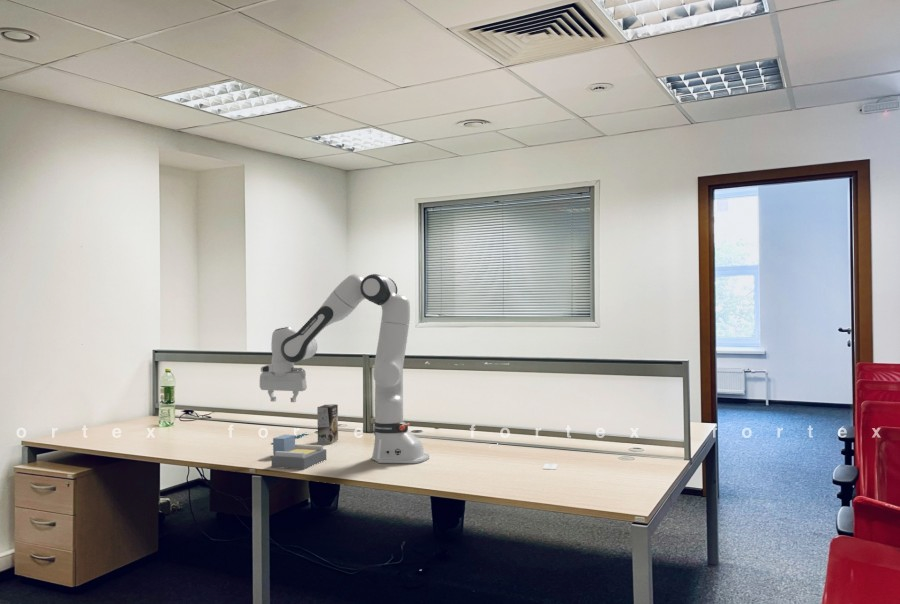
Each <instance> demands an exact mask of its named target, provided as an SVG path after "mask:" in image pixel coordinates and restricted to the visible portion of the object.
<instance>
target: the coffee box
mask: <svg viewBox="0 0 900 604" xmlns="http://www.w3.org/2000/svg"><path fill="white" fill-rule="evenodd" d="M338 406H339V405H338V404H324V405H321V406H317V409H316V411H317V430H318V431H317V445H331V444H332V445H333V443H336V442H337V440H338V441H339V421H338V420H339V417H338V416H339V415H338V414H339V413H338V412H339V411H338V410H339V409H338ZM335 441H336V442H335Z"/></svg>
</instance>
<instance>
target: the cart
mask: <svg viewBox="0 0 900 604" xmlns="http://www.w3.org/2000/svg"><path fill="white" fill-rule="evenodd" d="M295 436H296V435H295V434H282V435H279V436H275V437H273V438H272V443H273V444H272V445H273V446H272V450H273V451H272V452H273V456H274V455H275V452H276V451H283V452H285V451H288V450H290V449H293V448H295V446H294V445H295V444H296V438H295Z"/></svg>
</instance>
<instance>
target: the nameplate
mask: <svg viewBox="0 0 900 604" xmlns="http://www.w3.org/2000/svg"><path fill="white" fill-rule="evenodd" d="M304 435H305V436H308V434H305V433H301V434H297V435H295V439H296V438H297V439H301V438H303V437H305V436H304ZM296 436H297V437H296ZM302 436H303V437H302ZM270 445H273V442H271V443H270Z"/></svg>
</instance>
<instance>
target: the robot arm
mask: <svg viewBox="0 0 900 604" xmlns="http://www.w3.org/2000/svg"><path fill="white" fill-rule="evenodd" d="M363 300H367V301H369V302H371V303H373V304H375V305H377V306H380V307H381V311H382V312H381V320H380V328H379V334H378V341H377V347H376V353H375V359H374V366H373V372H372V373H373V374H372V375H373V376H372V377H373V379H374V381H375V382H374V423H373V434H374V443H373V444H374V445H373V451H372V455H371V459H372V460H373V461H375V462H376V463H378V464H419V463H423V462H425V461H427V460H428V459H430V454H429V453H427V452H425V450H424V445H423V442H422V441H421V440H420V439H419V438H418V437H416V436H415V435H414V434H413V433H412V432H411V431H409V428H408V427H409V426H410V422H408V423H407V422H405V420H404V375H403V374H404V371H403V370H404V364H405V363H404V362H405V356H406V349H407V342H408V336H409V334H408V333H409V327H410V320H411V305H410V300H409V299H408V298H407V297H406V296H404V295H401V294H398V287H397V284H396V282H395V281H394V280H393V279H391V278H390V277H387V276H385V275H382V274H376V273H373V274H372V273H371V274H369V275H366V277H362V276H361V275H358V274H350V275H348V276H347V277H346V278H345V279H343V280H342V281H341V282H340V283H339V284H338V285H337V286H336V287H335V288H334V290H333V291H332V292H331V293H330V294H329V296H328V297H327V298H326V300H325V301H324V302H323V303H322V304H321V306H320V307H319V308H318V309H317V311H316V312H315V313H314V314H313V315H312V316H311V317H310V318H309V319H308V320H307V321H306V322H305V323H304V325H302V327H301V328H300V329H299V330H298V331H297V330H295V329H293V328H292V327H289V326H285V327H280V328H276V329H275V330H273V332H272V334H271V344H270V346H271V354H272V357H271V363H269V364H266V365H263V366H261V367H260V372H261V374H260V375H259V389H260V390H261V391H267V394H268V395H269V398H270V402H276V401H277V397H276V396H275V395H274V391H279V392H280V391H283V392H284V391H286V392H292V394H293V395H292V397H290V402H291V403H296V402H297V398H298V395H299V392H303V391H306V389H307V386H308V385H307V379H306V371H305V369H303V368H302V367H295V363H298V362H300V361H304V360H307V359H310V358H312V357H314V356H315V355H316V353H317V351H318V343H317V341H316V339H315V338H316V337H317V336H318V335H319V334H320V333H321V331H322V330H324V329H326V327H328V326H330V325H331V324H335V323H337V322H340V321H342V320H344V319H345V318H347V317H348V316H349V315H350V314H351V313H352V312H354V310H356V308H357V307H358V306H359V304H360V303H361V302H362V301H363Z"/></svg>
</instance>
